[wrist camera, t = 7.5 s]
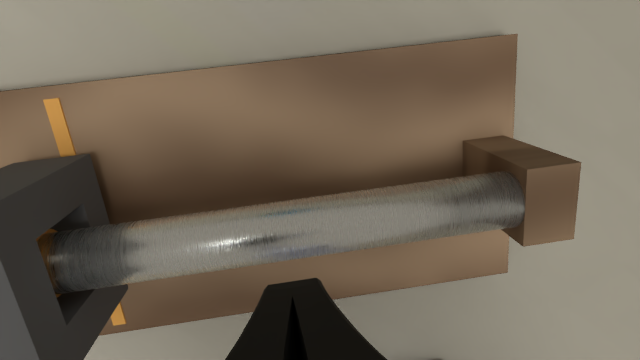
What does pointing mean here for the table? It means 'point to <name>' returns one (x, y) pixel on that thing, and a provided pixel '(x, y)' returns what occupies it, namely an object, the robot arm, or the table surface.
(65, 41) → the table surface
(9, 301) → the collar
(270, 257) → the pipe stand
